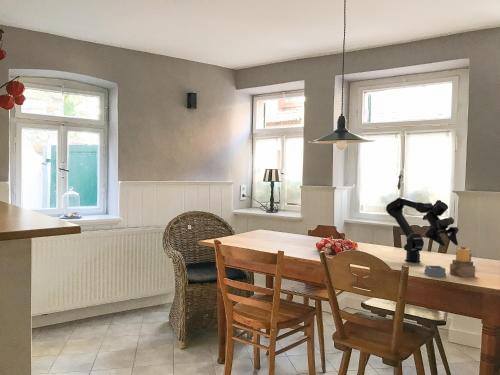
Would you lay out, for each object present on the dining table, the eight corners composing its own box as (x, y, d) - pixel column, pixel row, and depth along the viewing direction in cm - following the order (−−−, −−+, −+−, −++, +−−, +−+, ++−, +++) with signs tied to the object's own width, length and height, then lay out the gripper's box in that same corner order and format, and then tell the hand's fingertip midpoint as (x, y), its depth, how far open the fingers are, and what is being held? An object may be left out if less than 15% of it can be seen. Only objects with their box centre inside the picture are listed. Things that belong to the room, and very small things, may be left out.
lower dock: (424, 273, 220) (424, 265, 220) (439, 273, 220) (440, 265, 220) (429, 276, 213) (430, 268, 213) (445, 277, 213) (446, 269, 212)
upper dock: (449, 273, 221) (450, 259, 221) (461, 272, 225) (461, 258, 224) (463, 277, 214) (463, 262, 214) (474, 276, 217) (475, 262, 217)
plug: (456, 264, 220) (457, 246, 220) (462, 263, 222) (462, 246, 221) (463, 265, 216) (463, 248, 216) (468, 265, 218) (469, 247, 218)
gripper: (430, 212, 226) (446, 236, 217) (456, 211, 234) (473, 235, 224) (418, 225, 234) (433, 249, 224) (444, 224, 241) (460, 248, 232)
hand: (450, 245), depth 226 cm, fingers open, 9 cm apart
